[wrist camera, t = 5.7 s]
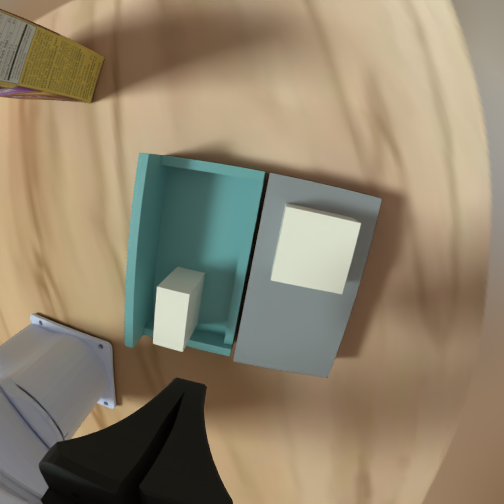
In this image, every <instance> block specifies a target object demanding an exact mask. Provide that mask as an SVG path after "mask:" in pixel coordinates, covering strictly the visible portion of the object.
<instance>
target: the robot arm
mask: <svg viewBox="0 0 504 504" xmlns="http://www.w3.org/2000/svg"><path fill="white" fill-rule="evenodd" d="M30 319H31V324H30V325H28V326H27V327H25V328H24V329H23V330H21V331H20V332H18V333H17V334H16V335H14V336H13V337H12V338H10V339H9V340H7V341H6V342H5V343H3V344H2V345H1V346H0V504H233V501H232V499H231V497H230V495H229V494H228V492H227V490H226V488H225V486H224V484H223V482H222V480H221V478H220V476H219V474H218V471H217V469H216V466H215V463H214V461H213V458H212V455H211V451H210V448H209V444H208V439H207V434H206V428H205V420H204V402H205V395H206V389H207V387H206V386H205V385H204V384H200V383H196V382H192V381H188V380H184V379H181V378H175V379H174V380H173V381H172V382H171V383H170V384H169V385H168V386H167V387H166V388H165V389H164V390H162V391H161V392H160V393H159V394H158V395H157V396H156V397H154V398H153V399H152V400H151V401H150V402H148V403H147V404H146V405H144V406H143V407H141V408H140V409H139V410H137V411H136V412H134V413H133V414H131V415H130V416H128V417H126V418H125V419H123V420H121V421H119V422H117V423H115V424H113V425H111V426H109V427H107V428H105V429H102V430H100V431H97V432H94V433H91V434H88V435H85V436H82V437H79V438H74V439H71V438H72V437H73V435H74V434H75V432H76V431H77V430H78V428H79V427H80V425H81V424H82V423H83V421H84V420H85V419H86V417H87V416H88V414H89V413H90V412H91V410H92V409H93V408H94V406H95V405H96V404H97V403H98V404H101V405H103V406H106V407H109V408H112V409H114V408H115V407H116V397H115V386H114V371H113V352H112V345H111V344H110V343H109V342H107V341H105V340H102V339H99V338H96V337H93V336H90V335H88V334H85V333H82V332H79V331H77V330H74V329H71V328H69V327H66V326H64V325H61V324H59V323H56V322H54V321H51V320H49V319H46V318H44V317H42V316H39V315H37V314H32V315H31V316H30ZM100 344H102V346H103V347H102V346H101V345H100Z"/></svg>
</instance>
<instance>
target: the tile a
mask: <svg viewBox="0 0 504 504" xmlns="http://www.w3.org/2000/svg"><path fill="white" fill-rule="evenodd" d="M204 278H205V273H204V272H199V271H195V270H190V269H186V268H182V267H177V268H176V269H175V270H174V271H172V272H171V273H170V274H169V275H168V276H167V277H166V278H165V279H164V280H163V281H162V282H161V283H160V284H159V285H158V286H157V292H156V304H155V318H154V333H153V344H156V345H159V346H163V347H166V348H170V349H173V350H177V351H181V352H183V351H184V349H185V347H186V345H187V343H188V341H189V339H190V337H191V335H192V334H193V332H194V330H195V328H196V326H197V324H198V318H199V311H200V304H201V298H202V291H203V284H204Z"/></svg>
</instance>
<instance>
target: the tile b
mask: <svg viewBox="0 0 504 504" xmlns="http://www.w3.org/2000/svg"><path fill="white" fill-rule="evenodd" d="M360 226H361V223H360V222H358V221H357V220H355V219H354V218H352V217H347V216H343V215H339V214H334V213H330V212H325V211H321V210H317V209H312V208H307V207H303V206H298V205H293V204H289V203H285V208H284V213H283V218H282V223H281V228H280V232H279V237H278V242H277V247H276V251H275V256H274V261H273V265H272V271H271V281H276V282H281V283H286V284H291V285H296V286H301V287H307V288H312V289H317V290H322V291H327V292H332V293H338V294H342V293H343V289H344V286H345V282H346V279H347V275H348V272H349V268H350V264H351V261H352V257H353V253H354V249H355V246H356V242H357V238H358V234H359V230H360Z"/></svg>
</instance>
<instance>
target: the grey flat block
mask: <svg viewBox="0 0 504 504" xmlns="http://www.w3.org/2000/svg"><path fill="white" fill-rule="evenodd" d="M381 200H382V199H381V198H377V197H374V196H371V195H367V194H363V193H359V192H355V191H351V190H347V189H343V188H339V187H334V186H330V185H326V184H321V183H317V182H313V181H308V180H304V179H299V178H294V177H289V176H285V175H280V174H275V173H270V175H269V180H268V185H267V190H266V195H265V200H264V205H263V211H262V216H261V221H260V226H259V231H258V236H257V241H256V246H255V251H254V257H253V262H252V267H251V272H250V277H249V282H248V287H247V292H246V297H245V302H244V307H243V313H242V318H241V323H240V328H239V333H238V338H237V343H236V348H235V353H234V358H233V361H234V362H239V363H244V364H249V365H254V366H259V367H264V368H269V369H275V370H281V371H287V372H293V373H299V374H305V375H312V376H319V377H326V378H328V375H329V373H330V370H331V367H332V365H333V362H334V359H335V357H336V354H337V351H338V348H339V346H340V343H341V340H342V337H343V334H344V331H345V328H346V325H347V323H348V319H349V316H350V313H351V310H352V307H353V304H354V301H355V298H356V294H357V291H358V288H359V285H360V281H361V278H362V274H363V271H364V267H365V264H366V260H367V257H368V253H369V249H370V245H371V242H372V238H373V234H374V230H375V226H376V222H377V218H378V213H379V209H380V205H381ZM285 203H289V204H293V205H298V206H303V207H307V208H312V209H317V210H321V211H325V212H330V213H334V214H339V215H343V216H347V217H352V218H354V219H355V220H357V221H358V222H360V223H361V226H360V230H359V234H358V238H357V242H356V246H355V249H354V253H353V257H352V261H351V264H350V268H349V272H348V275H347V279H346V282H345V286H344V289H343V293H342V294H338V293H332V292H327V291H322V290H317V289H312V288H307V287H301V286H296V285H291V284H286V283H281V282H276V281H271V271H272V265H273V261H274V256H275V251H276V247H277V242H278V237H279V232H280V228H281V223H282V218H283V213H284V208H285Z"/></svg>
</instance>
